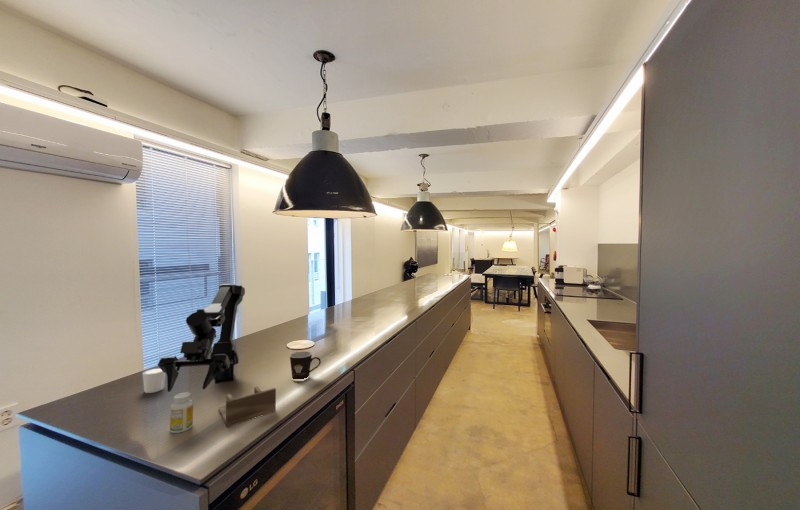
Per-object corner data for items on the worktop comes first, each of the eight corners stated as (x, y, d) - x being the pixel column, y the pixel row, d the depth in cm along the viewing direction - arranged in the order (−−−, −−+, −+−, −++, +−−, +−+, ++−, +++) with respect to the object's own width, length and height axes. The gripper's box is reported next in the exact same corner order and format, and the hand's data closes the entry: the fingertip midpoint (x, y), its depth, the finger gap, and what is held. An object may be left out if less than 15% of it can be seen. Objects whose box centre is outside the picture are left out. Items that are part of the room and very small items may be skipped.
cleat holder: (218, 411, 97) (218, 388, 97) (263, 398, 106) (264, 377, 106) (226, 427, 88) (226, 402, 88) (275, 411, 97) (275, 389, 97)
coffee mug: (284, 381, 121) (285, 356, 121) (299, 373, 129) (299, 350, 129) (308, 385, 117) (308, 360, 117) (321, 377, 125) (322, 353, 125)
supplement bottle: (172, 436, 83) (173, 401, 83) (167, 428, 87) (168, 395, 87) (195, 427, 87) (195, 394, 88) (189, 421, 91) (190, 389, 91)
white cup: (152, 394, 108) (152, 375, 108) (137, 392, 110) (137, 373, 110) (170, 386, 115) (170, 368, 115) (155, 384, 116) (156, 366, 116)
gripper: (161, 331, 93) (138, 380, 82) (227, 328, 97) (213, 375, 86) (174, 349, 101) (154, 397, 90) (235, 346, 105) (223, 391, 94)
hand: (186, 390), depth 90 cm, fingers open, 9 cm apart
